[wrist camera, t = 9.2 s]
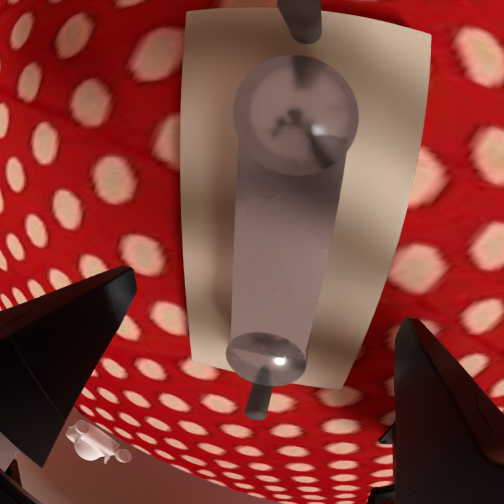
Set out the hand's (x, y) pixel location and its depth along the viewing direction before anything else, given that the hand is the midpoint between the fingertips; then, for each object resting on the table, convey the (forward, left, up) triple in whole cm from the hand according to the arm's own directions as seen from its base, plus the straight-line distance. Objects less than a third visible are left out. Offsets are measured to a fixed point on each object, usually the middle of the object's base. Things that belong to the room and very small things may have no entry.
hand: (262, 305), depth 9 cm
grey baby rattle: (0, 0, -5) cm, 5 cm away
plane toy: (-46, +29, -7) cm, 54 cm away
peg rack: (0, 0, -6) cm, 7 cm away
